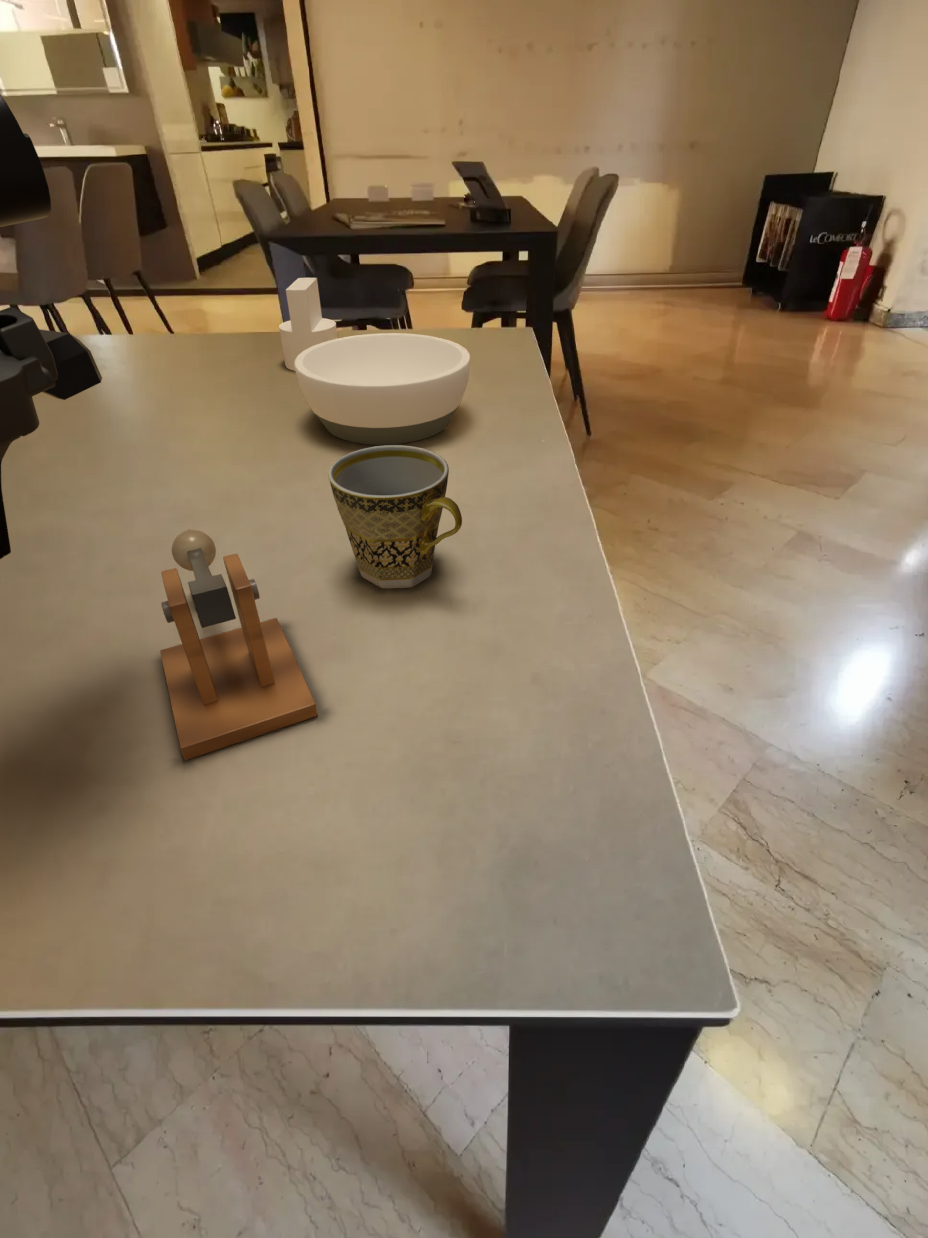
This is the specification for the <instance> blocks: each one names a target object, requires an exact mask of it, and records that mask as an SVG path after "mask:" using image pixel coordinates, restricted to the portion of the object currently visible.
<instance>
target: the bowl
mask: <svg viewBox="0 0 928 1238" xmlns="http://www.w3.org/2000/svg"><path fill="white" fill-rule="evenodd" d="M294 367H295V371H294V372H295V375H296V379H297V383H298V386H299V389H300V391H301V393H302V395H303V397H304V399H305V401H306V402H307V404H308V406H309V408H310V409H311V410H312V412H313V414H315V416H316V417H317V418H318V419H319V421H320V422H321V423H322V425H323V426H324V427H325V429H326V430H327V432H328V433H330V434H331V435H332V436H334V437H335V438H339V439H341V440H344V441H347V442H350V443H357V444H363V445H374V446H385V445H401V444H406V443H412V442H417V441H421V440H424V439H428V438H430V437H432V436H435V435H437V434H439V433H440V432H442V431H444V430H445V429H446V428H447V427H448V426H449V424H450V423H451V420H452V418H453V416H454V414H455V413H456V411H457V410H458V407H459V406H460V404H461V402H462V400H463V397H464V395H465V392H466V389H467V386H468V383H469V379H470V369H471V368H470V367H471V354H470V352H469V351H468V349H466V348H465V347H464V346H462V344H459V343H457V342H454V341H452V340H449V339H445V338H441V337H438V336H432V335H426V334H419V333H401V332H391V333H390V332H381V333H380V332H379V333H365V334H357V335H350V336H349V335H348V336H344V337H338V339H334V340H330V341H326V342H323V343H320V344H317V345H314V346H312V347H310V348H308V349H306V350H304V351H303V352H302V353H300V354H299V355H298V356H297V358H296V359H295V362H294Z"/></svg>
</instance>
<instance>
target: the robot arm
mask: <svg viewBox="0 0 928 1238" xmlns="http://www.w3.org/2000/svg"><path fill="white" fill-rule="evenodd" d="M51 211H52V199H51V193H50V189H49V185H48V181H47V177H46V174H45V170H44V168H43V165H42V162H41V159H40V158H39V155H38V152H37V150H36V148H35V145H34V142H33V140H32V138H31V137H30V135H29V134H28V133H26V132H25V133H24V131H23V130H22V128H21V126H20V124H19V122H18V120H17V119H16V117H15V115H14V113H13V111H12V109H11V108H10V107H9V104H8V103H7V101H6V99H5V98H4V97H3V96H2V94H1V93H0V228H2V227H3V228H4V227H7V226H12V225H17V224H22V223H26V222H30V221H36V220H41V219H45V218H48V217H49V216H50V215H51ZM102 380H103V377H102V374H101V372H100V370H99V368H98V365H97V363H96V361H95V359H94V356H93V354H92V352H91V350H90V349H89V347H87V346H86V345H85V344H84V343H83V342H82V341H81V339H79V338H77V336H74V335H73V334H71V333H69V332H62V331H54V330H47V329H40V328H39V327H38V325H37V323H36V321H35V320H34V317H32V316H31V315H29V314H27V313H24V312H23V311H21V310H19V309H17V308H16V307H14V306H8V307H6V308H4V309H0V560H2V559H4V557H6V556H8V555H10V554H11V552H12V549H11V542H10V535H9V529H8V523H7V516H6V510H5V509H6V508H5V503H4V497H3V486H2V462H3V459H4V457H5V455H6V453H7V451H8V449H9V447H10V445H11V444H12V443H13V442H14V441H16V440H18V439H20V438H21V437H26V436H28V435H30V434H32V433H33V432H35V431H36V430H37V429H38V428H39V427H40V419H39V416H38V412H37V409H36V407H35V402H34V398H33V397H35V396H37V395H39V394H42V393H43V394H45V395H48V396H50V397H52V398H55V399H57V400H63V401H65V400H68V399H70V398H72V397H74V396H76V395H78V394H80V393H82V392H84V391H86V390H88V389H91V388H93V387H94V386H96V385H99V384H100V383H101V384H102Z"/></svg>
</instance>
